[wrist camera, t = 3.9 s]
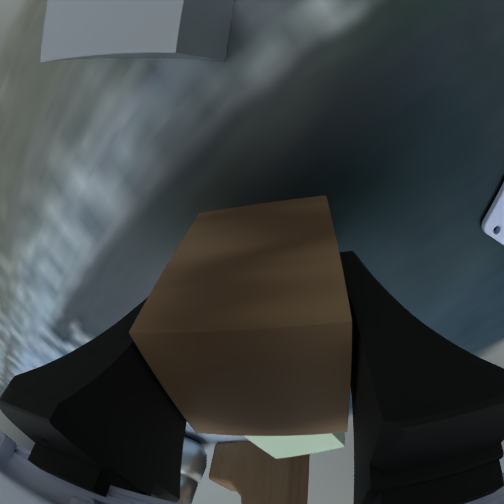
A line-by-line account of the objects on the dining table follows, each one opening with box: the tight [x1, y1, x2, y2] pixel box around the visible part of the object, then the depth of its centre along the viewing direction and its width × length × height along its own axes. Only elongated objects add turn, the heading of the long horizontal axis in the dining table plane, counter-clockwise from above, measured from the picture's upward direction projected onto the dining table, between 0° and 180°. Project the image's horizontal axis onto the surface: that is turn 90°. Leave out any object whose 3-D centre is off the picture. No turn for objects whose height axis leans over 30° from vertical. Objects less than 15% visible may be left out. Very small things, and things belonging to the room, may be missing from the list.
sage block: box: [244, 432, 345, 459], centre depth 18 cm, size 4×4×6 cm
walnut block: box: [129, 195, 352, 436], centre depth 9 cm, size 4×4×6 cm
